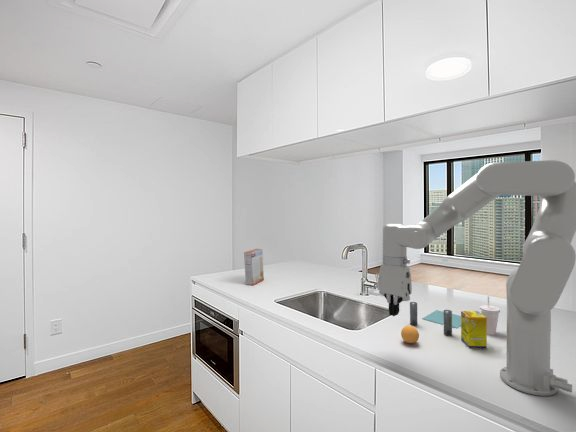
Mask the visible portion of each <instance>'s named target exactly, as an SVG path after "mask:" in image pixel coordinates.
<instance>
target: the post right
mask: <svg viewBox="0 0 576 432" xmlns="http://www.w3.org/2000/svg"><path fill="white" fill-rule="evenodd" d="M443 312H444V325H443V335H444V336H446V337H452V336H453V327H452V314H453V311H452V310H450V309H444V310H443Z"/></svg>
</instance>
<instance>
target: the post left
mask: <svg viewBox="0 0 576 432" xmlns="http://www.w3.org/2000/svg"><path fill="white" fill-rule="evenodd" d="M409 326H413V327H417V326H418V302H416V301H410V302H409Z"/></svg>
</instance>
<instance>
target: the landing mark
mask: <svg viewBox="0 0 576 432" xmlns="http://www.w3.org/2000/svg"><path fill="white" fill-rule="evenodd" d="M421 319H422V320H424V321H427V322H432V323H436V324H440V325H443V326H444V311H443V310H439V309H438V310H437V309H436V310H434V311H433V312H431V313H429V314H427V315H426V316H424V317H422V318H421ZM452 328H453V329H459V328H461V315H458V314H454V313H452Z"/></svg>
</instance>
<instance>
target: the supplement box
mask: <svg viewBox="0 0 576 432" xmlns="http://www.w3.org/2000/svg"><path fill="white" fill-rule="evenodd" d="M460 316H461V326H460V337H461V338H460V340H461V342H463V344H465V345H466V347H467V348H468V349H487V348H488V347H487V343H488V342H487V341H488V340H487V339H488V334H487V318H486V317H485V316H483V315H482V314H481V311H479V310H461V311H460Z"/></svg>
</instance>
